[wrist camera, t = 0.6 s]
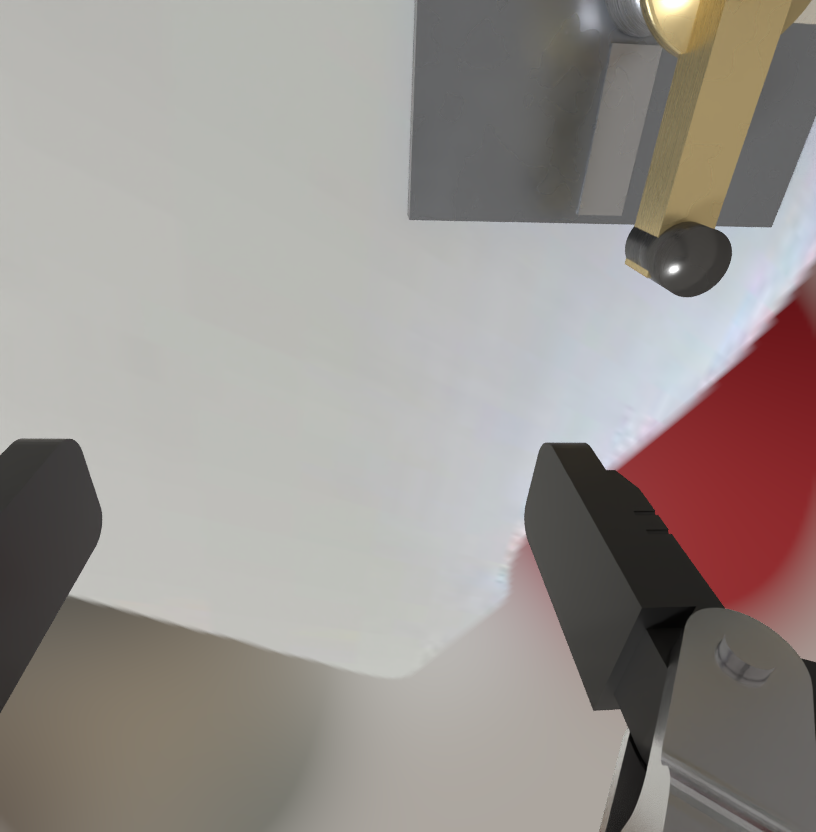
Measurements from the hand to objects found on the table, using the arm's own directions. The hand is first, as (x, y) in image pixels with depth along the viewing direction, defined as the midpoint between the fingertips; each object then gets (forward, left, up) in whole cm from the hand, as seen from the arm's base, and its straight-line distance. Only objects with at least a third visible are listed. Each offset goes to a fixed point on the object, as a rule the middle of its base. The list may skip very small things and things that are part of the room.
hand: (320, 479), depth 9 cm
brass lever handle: (-7, +15, -17) cm, 23 cm away
